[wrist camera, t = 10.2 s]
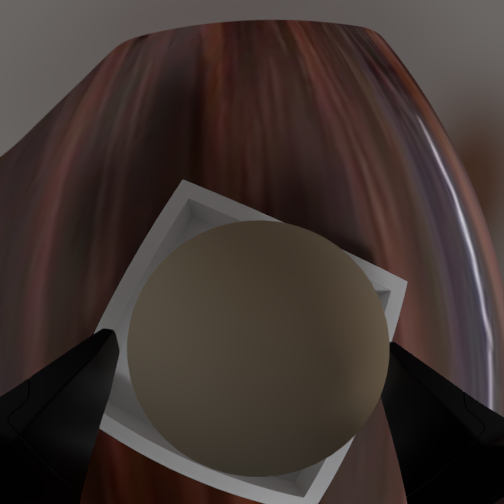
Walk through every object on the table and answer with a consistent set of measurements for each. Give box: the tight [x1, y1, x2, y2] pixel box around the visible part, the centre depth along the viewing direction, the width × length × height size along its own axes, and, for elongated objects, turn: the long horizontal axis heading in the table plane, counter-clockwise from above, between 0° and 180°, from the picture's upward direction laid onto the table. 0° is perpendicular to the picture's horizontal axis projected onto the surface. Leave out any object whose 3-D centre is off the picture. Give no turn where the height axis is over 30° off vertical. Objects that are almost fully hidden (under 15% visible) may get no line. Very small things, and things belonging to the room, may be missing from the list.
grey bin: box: [94, 180, 407, 504], centre depth 15 cm, size 15×15×3 cm
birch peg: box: [127, 220, 389, 477], centre depth 11 cm, size 5×5×12 cm
